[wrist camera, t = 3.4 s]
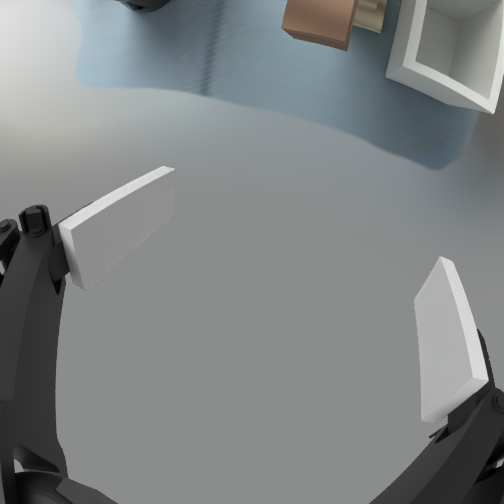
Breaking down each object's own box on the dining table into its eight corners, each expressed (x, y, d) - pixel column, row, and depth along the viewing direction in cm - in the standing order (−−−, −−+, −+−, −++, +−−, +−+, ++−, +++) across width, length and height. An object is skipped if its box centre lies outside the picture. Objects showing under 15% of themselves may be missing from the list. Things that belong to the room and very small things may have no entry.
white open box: (446, 104, 36) (493, 114, 20) (384, 76, 38) (402, 66, 22) (464, 22, 25) (511, -4, 9) (402, -6, 27) (422, -52, 11)
